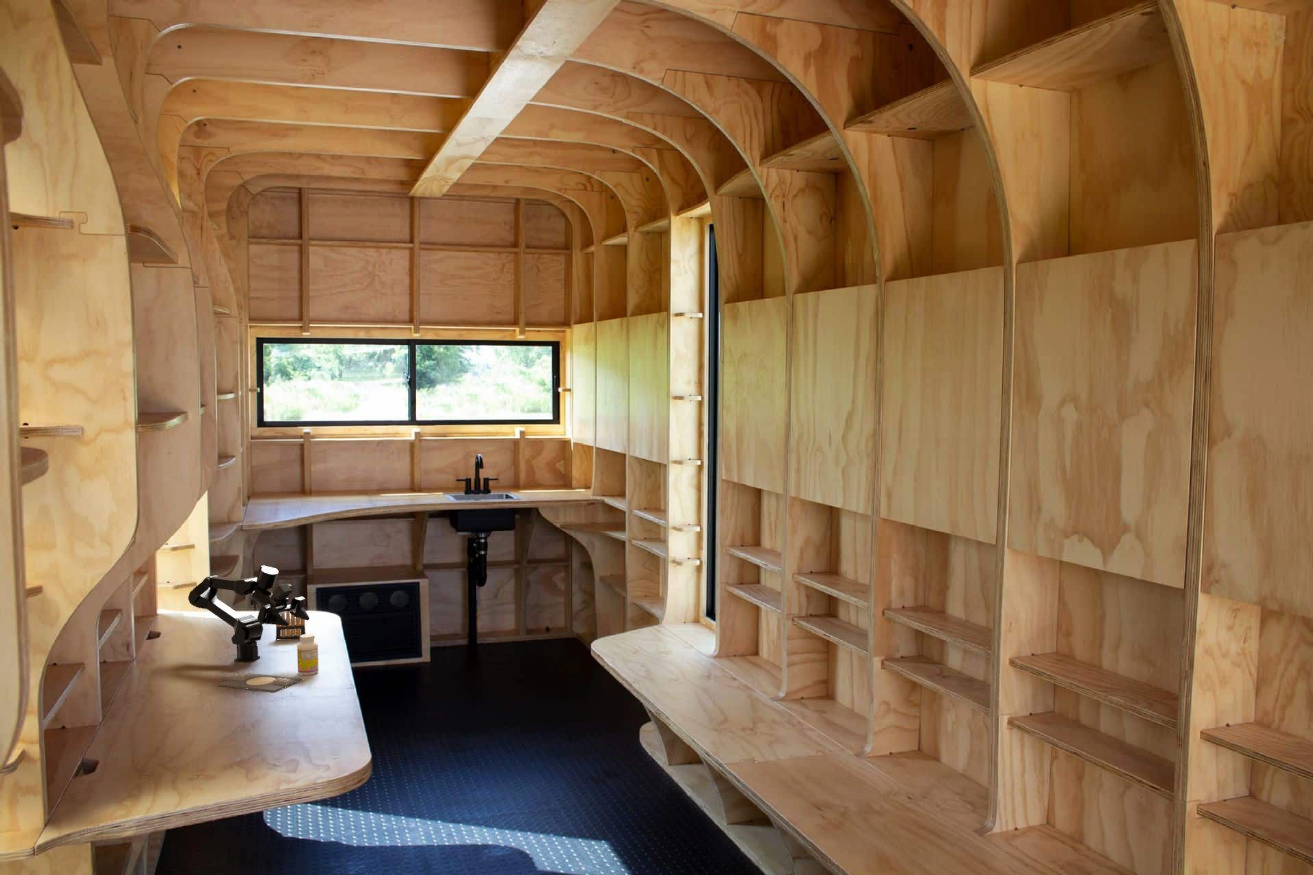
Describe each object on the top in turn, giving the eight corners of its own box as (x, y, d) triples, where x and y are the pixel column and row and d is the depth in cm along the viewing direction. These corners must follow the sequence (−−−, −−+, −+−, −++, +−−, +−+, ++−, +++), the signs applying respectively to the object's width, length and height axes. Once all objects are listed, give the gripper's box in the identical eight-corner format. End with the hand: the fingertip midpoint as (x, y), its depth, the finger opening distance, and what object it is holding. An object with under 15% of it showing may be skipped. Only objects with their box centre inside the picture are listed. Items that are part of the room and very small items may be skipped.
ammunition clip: (305, 637, 423) (304, 606, 422) (305, 638, 421) (304, 607, 420) (276, 639, 420) (275, 608, 419) (275, 640, 418) (275, 609, 418)
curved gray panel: (218, 685, 358) (218, 679, 358) (248, 674, 371) (248, 668, 371) (274, 692, 350) (274, 685, 350) (302, 680, 364) (302, 673, 363)
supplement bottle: (300, 670, 375) (299, 633, 375) (320, 670, 376) (319, 632, 375) (295, 676, 369) (294, 638, 368) (316, 675, 369) (315, 637, 369)
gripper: (252, 584, 374) (284, 606, 368) (294, 574, 391) (325, 596, 384) (244, 612, 377) (275, 635, 371) (285, 602, 393) (316, 623, 387)
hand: (298, 621), depth 378 cm, fingers open, 9 cm apart
